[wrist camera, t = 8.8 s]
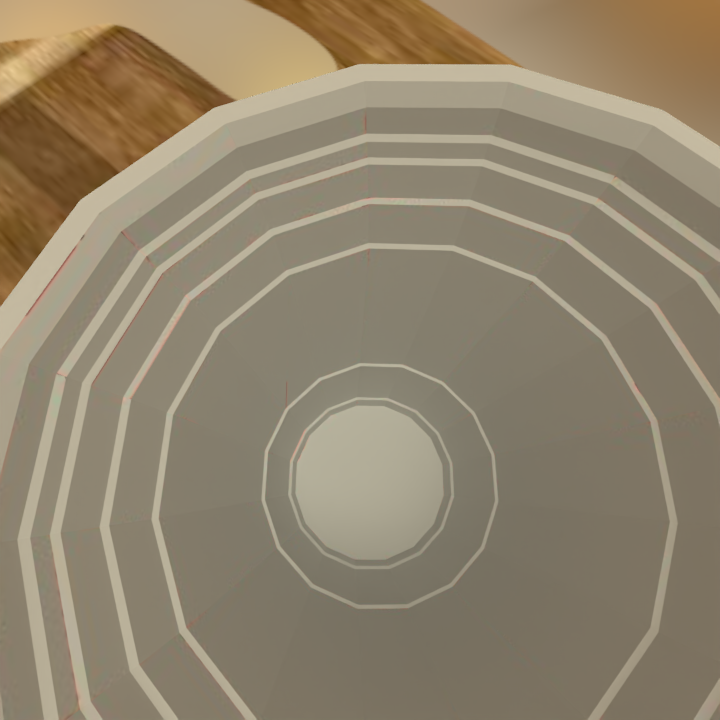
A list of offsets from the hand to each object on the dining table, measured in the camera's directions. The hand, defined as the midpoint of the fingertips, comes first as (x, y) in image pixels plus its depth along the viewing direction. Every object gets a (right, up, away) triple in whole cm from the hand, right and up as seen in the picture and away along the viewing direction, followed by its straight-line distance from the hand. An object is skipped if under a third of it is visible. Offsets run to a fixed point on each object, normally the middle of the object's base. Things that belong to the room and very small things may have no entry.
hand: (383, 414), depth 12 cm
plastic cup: (-1, -3, +3) cm, 4 cm away
